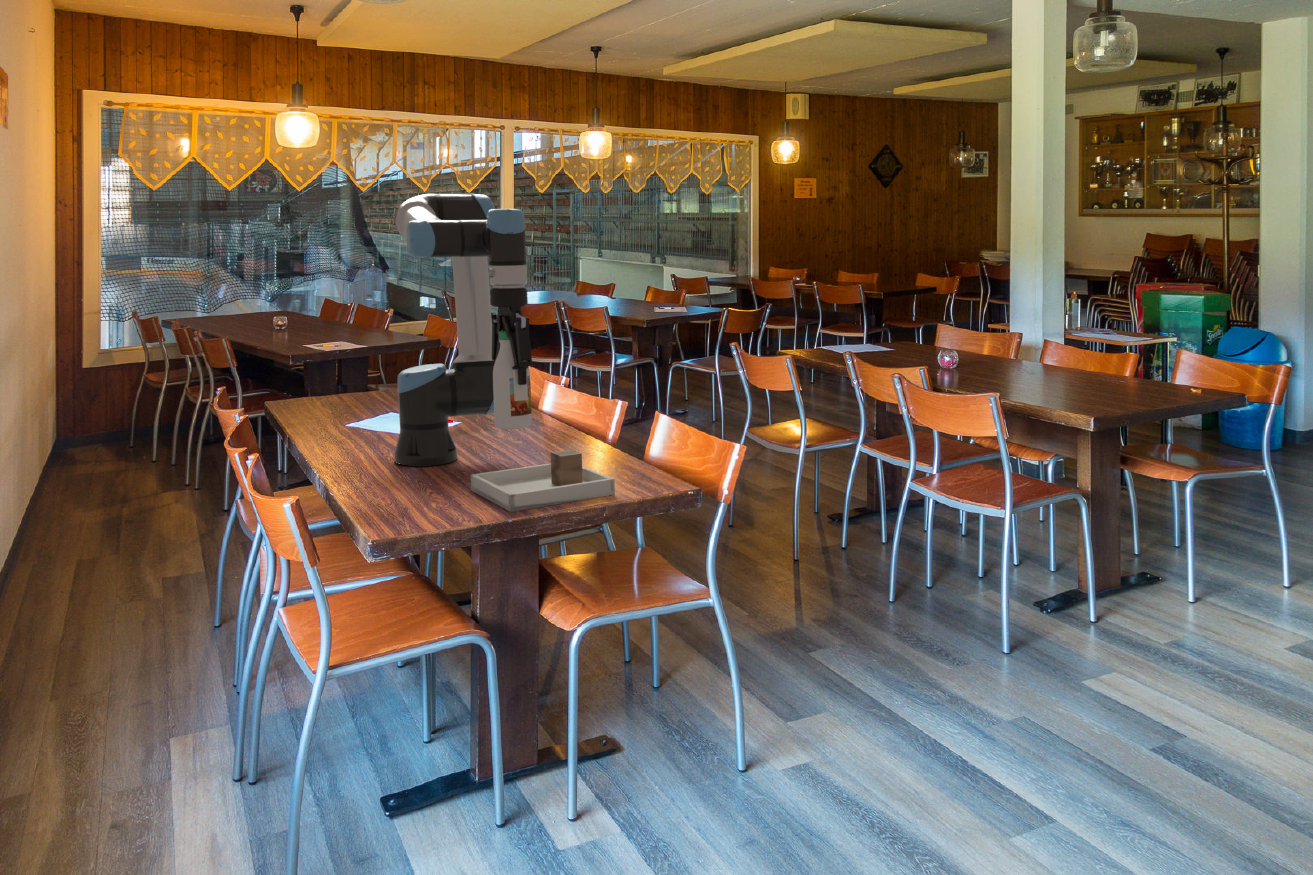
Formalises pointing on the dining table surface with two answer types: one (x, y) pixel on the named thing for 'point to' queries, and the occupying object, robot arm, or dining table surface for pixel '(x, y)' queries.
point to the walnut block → (566, 467)
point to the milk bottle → (509, 391)
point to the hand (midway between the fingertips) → (512, 397)
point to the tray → (537, 487)
